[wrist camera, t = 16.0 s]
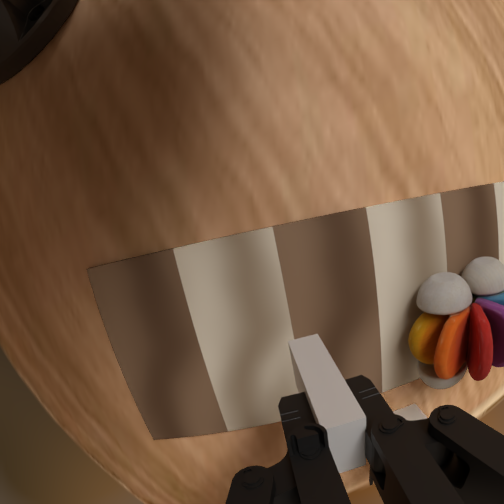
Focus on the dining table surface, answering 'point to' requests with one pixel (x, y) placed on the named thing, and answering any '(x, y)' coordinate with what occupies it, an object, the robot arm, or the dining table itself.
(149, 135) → the dining table surface
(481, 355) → the rainbow segmented toy
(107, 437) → the dining table surface
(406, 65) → the dining table surface
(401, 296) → the striped mat
